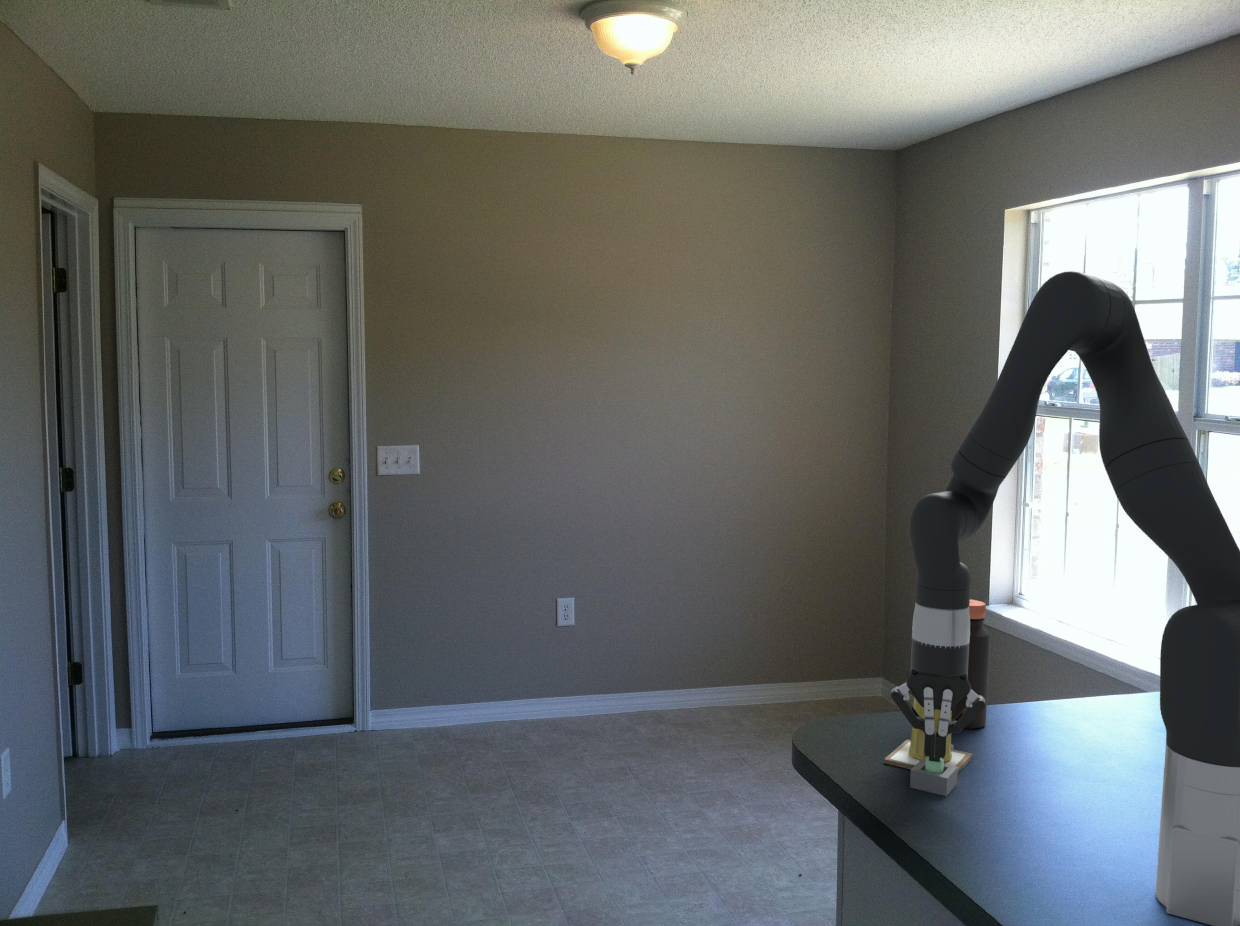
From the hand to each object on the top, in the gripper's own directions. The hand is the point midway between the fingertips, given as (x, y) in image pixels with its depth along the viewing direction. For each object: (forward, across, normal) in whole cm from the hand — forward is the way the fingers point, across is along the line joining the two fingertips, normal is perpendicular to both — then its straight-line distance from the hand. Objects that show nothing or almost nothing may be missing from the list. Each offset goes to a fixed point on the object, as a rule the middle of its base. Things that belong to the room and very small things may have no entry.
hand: (934, 759), depth 144 cm
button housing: (+4, 0, 0) cm, 4 cm away
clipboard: (+4, -1, +10) cm, 10 cm away
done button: (+3, 0, 0) cm, 3 cm away
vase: (+3, 0, +10) cm, 10 cm away
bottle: (+4, +5, +29) cm, 29 cm away
